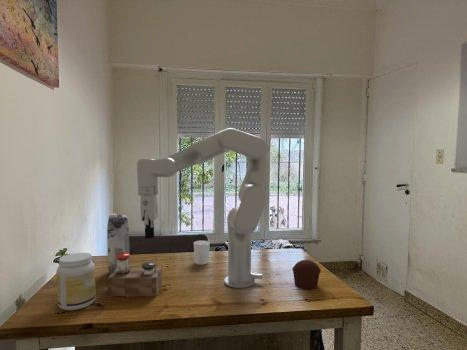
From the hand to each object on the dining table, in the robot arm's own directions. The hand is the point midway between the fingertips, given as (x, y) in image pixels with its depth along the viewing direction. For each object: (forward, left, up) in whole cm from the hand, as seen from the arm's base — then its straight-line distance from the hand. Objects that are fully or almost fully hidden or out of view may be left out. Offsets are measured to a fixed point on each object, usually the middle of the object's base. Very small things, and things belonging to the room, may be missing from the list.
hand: (149, 237), depth 126 cm
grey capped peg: (+1, 0, -20) cm, 20 cm away
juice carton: (+18, -18, -21) cm, 33 cm away
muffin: (-62, -2, -21) cm, 66 cm away
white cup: (-18, -32, -21) cm, 42 cm away
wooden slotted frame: (+6, 0, -21) cm, 21 cm away
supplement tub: (+24, +11, -21) cm, 33 cm away
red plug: (+11, 0, -16) cm, 20 cm away
